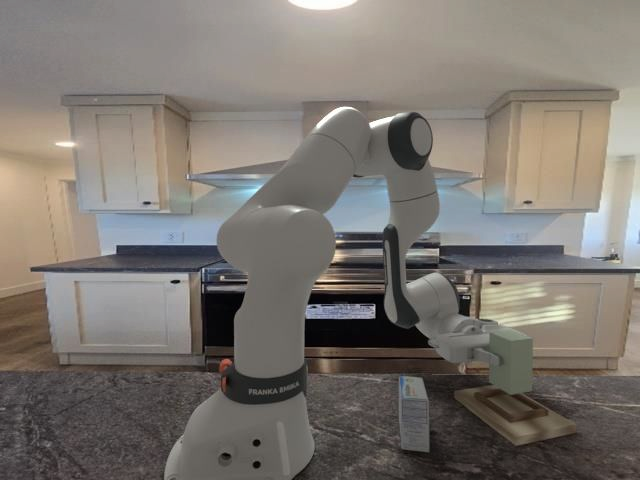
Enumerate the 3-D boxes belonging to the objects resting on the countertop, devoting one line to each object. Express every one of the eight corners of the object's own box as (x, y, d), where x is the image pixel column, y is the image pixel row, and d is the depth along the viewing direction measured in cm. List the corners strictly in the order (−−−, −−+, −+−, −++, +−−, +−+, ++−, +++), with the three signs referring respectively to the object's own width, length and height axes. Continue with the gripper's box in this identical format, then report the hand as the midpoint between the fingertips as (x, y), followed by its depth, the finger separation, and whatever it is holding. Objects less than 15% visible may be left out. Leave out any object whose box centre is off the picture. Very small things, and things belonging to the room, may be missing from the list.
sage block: (510, 394, 56) (511, 340, 56) (488, 381, 61) (489, 332, 61) (532, 391, 57) (532, 338, 57) (509, 378, 62) (510, 329, 62)
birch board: (515, 445, 50) (516, 430, 50) (454, 397, 65) (454, 386, 65) (575, 432, 53) (576, 418, 53) (504, 389, 68) (504, 378, 68)
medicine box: (429, 454, 48) (430, 400, 48) (400, 450, 49) (400, 397, 49) (423, 423, 56) (423, 377, 56) (398, 420, 57) (398, 374, 57)
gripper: (423, 326, 69) (468, 349, 55) (498, 318, 74) (555, 338, 61) (423, 353, 69) (467, 383, 56) (498, 344, 74) (555, 369, 61)
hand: (514, 359), depth 58 cm, fingers closed on sage block, 5 cm apart
